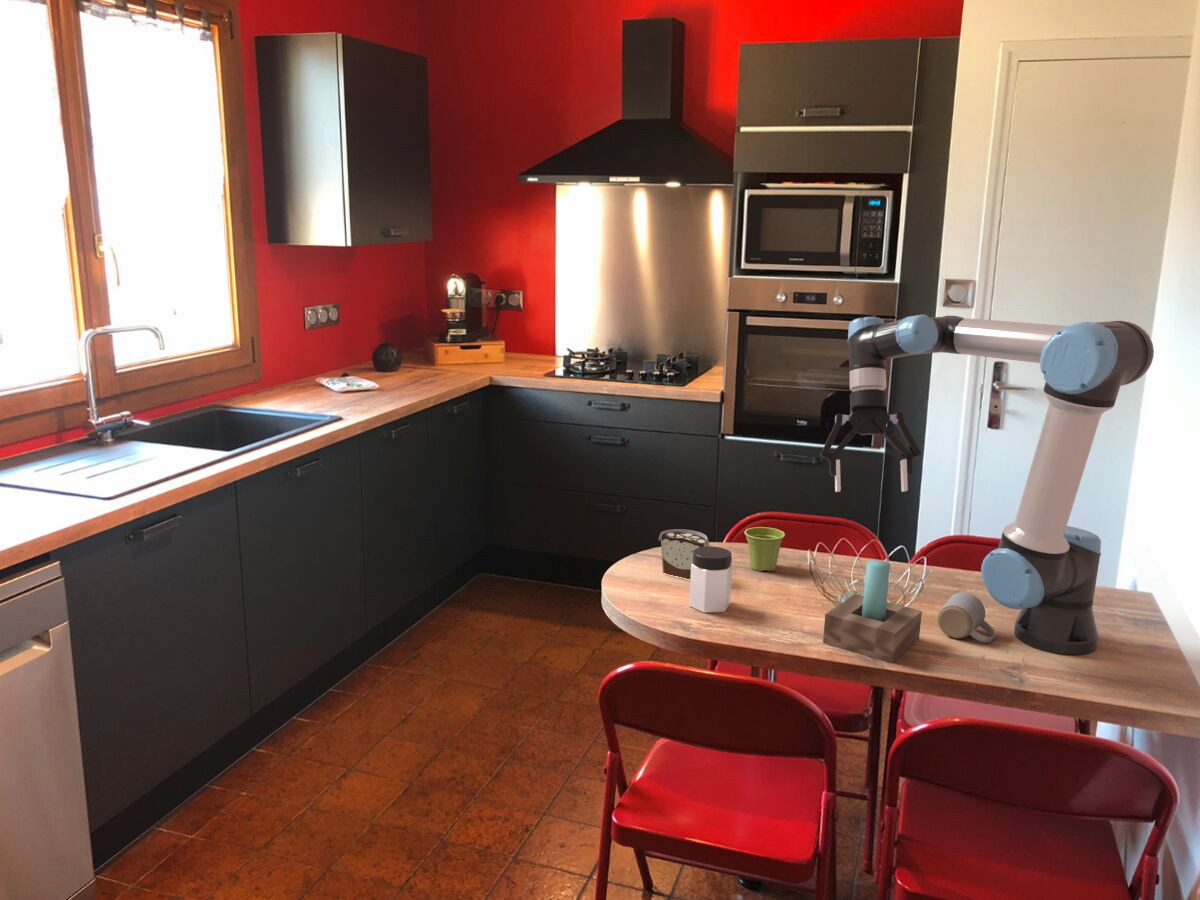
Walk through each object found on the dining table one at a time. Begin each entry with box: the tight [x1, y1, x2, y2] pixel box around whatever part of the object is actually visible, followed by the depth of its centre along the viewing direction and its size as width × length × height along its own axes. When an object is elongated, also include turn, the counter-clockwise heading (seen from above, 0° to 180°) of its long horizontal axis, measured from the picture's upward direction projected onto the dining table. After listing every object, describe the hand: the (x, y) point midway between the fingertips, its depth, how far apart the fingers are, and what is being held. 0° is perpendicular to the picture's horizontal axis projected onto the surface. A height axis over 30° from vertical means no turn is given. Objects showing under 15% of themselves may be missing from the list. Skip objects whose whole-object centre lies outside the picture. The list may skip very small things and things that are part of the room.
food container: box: [658, 528, 710, 579], centre depth 228 cm, size 12×6×10 cm, turn 58°
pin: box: [862, 559, 891, 622], centre depth 192 cm, size 4×4×15 cm
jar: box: [688, 545, 733, 614], centre depth 209 cm, size 9×8×12 cm
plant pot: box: [744, 526, 786, 572], centre depth 234 cm, size 9×9×9 cm
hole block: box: [822, 593, 923, 664], centre depth 194 cm, size 14×14×6 cm
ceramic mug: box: [937, 591, 996, 644], centre depth 197 cm, size 11×8×8 cm
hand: (871, 491), depth 206 cm, fingers open, 13 cm apart
